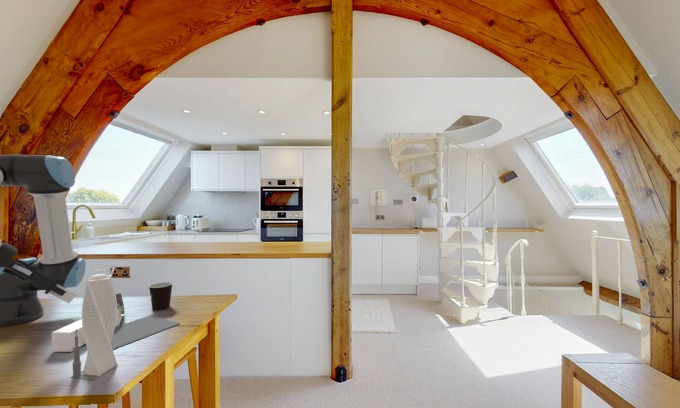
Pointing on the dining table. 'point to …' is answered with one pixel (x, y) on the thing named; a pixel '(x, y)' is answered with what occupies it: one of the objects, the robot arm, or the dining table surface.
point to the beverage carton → (120, 304)
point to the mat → (139, 330)
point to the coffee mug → (160, 295)
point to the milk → (72, 336)
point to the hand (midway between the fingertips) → (71, 298)
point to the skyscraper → (97, 327)
